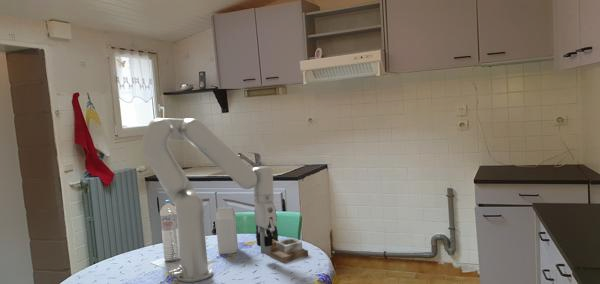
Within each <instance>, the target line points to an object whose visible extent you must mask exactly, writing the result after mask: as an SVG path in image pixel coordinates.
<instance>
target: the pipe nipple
mask: <svg viewBox="0 0 600 284" xmlns="http://www.w3.org/2000/svg"><path fill="white" fill-rule="evenodd" d="M269 227H270V226H268V228H269ZM268 230H270V229H268ZM268 230H267V232H268ZM259 231H260V243H261V246H260V254H262V255H266V254H269V253H271V246H267V247H265V244H264V236H265V230H264V228H262V227H259Z"/></svg>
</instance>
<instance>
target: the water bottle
mask: <svg viewBox="0 0 600 284" xmlns="http://www.w3.org/2000/svg"><path fill="white" fill-rule="evenodd" d="M164 202H165V204H164V205H163V206H162V207H161V209H160V210H159V215H160V223H161V224H160V225H161V236H162V247H163V258H164V261H166V262H167V261H173V262H177V261H179V260H181V258H180V248H179V237H178V227H177V214H176V208H175V206H174V204H173V203H172V204H171V199H167V200H166V199H165V201H164ZM176 260H177V261H176Z"/></svg>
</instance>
